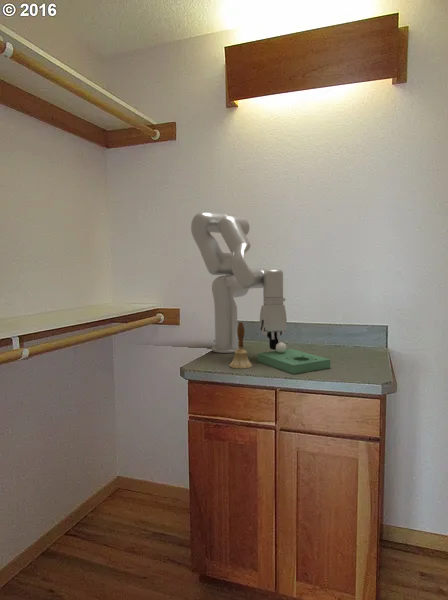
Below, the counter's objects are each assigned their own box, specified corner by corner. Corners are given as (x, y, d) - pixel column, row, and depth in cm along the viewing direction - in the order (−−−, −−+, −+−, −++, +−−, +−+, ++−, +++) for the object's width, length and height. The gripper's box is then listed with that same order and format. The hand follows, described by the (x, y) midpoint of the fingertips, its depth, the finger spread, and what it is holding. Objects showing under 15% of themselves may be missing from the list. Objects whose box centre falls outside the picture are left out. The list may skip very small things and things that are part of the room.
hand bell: (256, 364, 158) (255, 321, 157) (245, 369, 151) (245, 324, 150) (236, 362, 162) (235, 320, 161) (225, 367, 155) (224, 323, 154)
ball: (273, 352, 164) (273, 342, 164) (282, 351, 166) (282, 341, 166) (279, 354, 161) (279, 343, 161) (288, 353, 163) (288, 342, 162)
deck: (257, 361, 164) (257, 353, 163) (291, 356, 171) (291, 348, 171) (293, 374, 144) (293, 365, 144) (330, 367, 152) (330, 359, 152)
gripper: (283, 300, 173) (283, 345, 175) (251, 302, 166) (252, 349, 167) (295, 301, 166) (295, 348, 168) (262, 303, 159) (263, 353, 161)
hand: (273, 349), depth 168 cm, fingers closed
